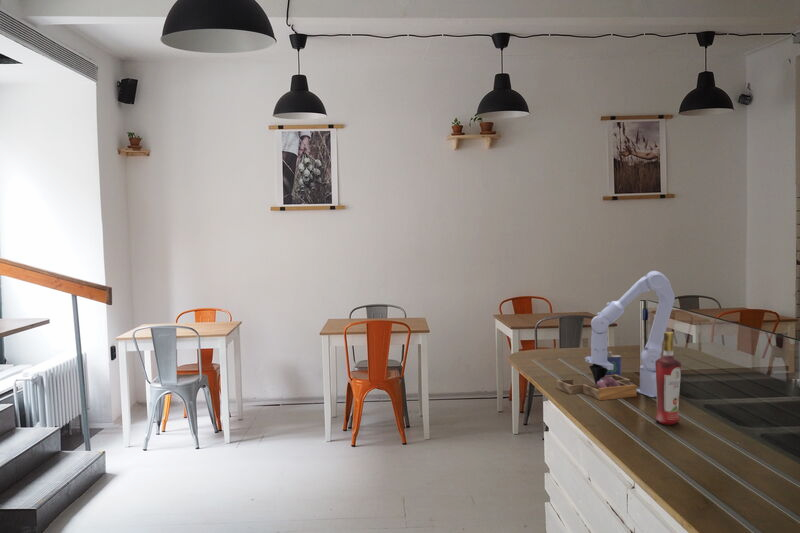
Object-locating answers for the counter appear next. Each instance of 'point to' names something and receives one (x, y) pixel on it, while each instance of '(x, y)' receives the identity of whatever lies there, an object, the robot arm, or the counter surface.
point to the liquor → (668, 383)
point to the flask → (614, 364)
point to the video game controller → (607, 382)
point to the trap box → (602, 393)
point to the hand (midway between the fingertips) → (598, 385)
